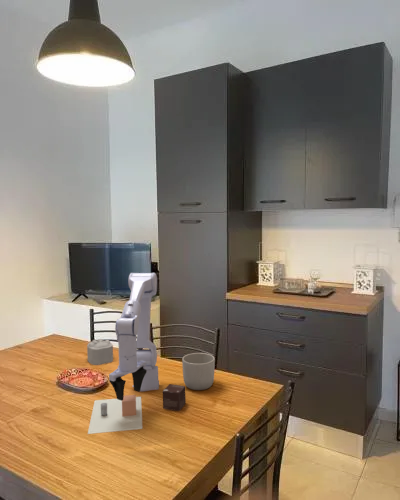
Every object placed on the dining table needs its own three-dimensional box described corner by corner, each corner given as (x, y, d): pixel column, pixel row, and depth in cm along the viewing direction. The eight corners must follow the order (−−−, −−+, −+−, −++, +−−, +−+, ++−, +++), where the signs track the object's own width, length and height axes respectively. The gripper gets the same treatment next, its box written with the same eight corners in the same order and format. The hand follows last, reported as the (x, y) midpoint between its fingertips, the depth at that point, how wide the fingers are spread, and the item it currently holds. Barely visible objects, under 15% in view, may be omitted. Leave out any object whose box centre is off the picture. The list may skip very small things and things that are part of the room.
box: (186, 406, 138) (185, 385, 137) (179, 414, 132) (179, 393, 131) (169, 404, 140) (169, 383, 139) (162, 412, 134) (162, 390, 133)
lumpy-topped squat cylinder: (92, 366, 176) (92, 346, 175) (84, 357, 187) (83, 339, 186) (115, 361, 182) (115, 342, 181) (105, 353, 192) (105, 335, 192)
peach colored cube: (136, 408, 134) (135, 394, 133) (136, 415, 129) (135, 400, 129) (122, 409, 133) (122, 395, 133) (122, 416, 129) (121, 401, 128)
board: (141, 399, 143) (140, 387, 142) (142, 432, 121) (142, 417, 121) (94, 403, 140) (94, 390, 140) (87, 437, 119) (87, 422, 118)
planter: (178, 390, 150) (177, 362, 149) (188, 378, 162) (187, 351, 161) (210, 394, 147) (210, 365, 146) (218, 381, 159) (217, 354, 158)
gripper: (134, 346, 138) (135, 384, 139) (101, 358, 126) (103, 400, 127) (150, 349, 134) (150, 389, 135) (117, 362, 122) (118, 406, 123)
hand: (128, 395), depth 131 cm, fingers open, 7 cm apart
